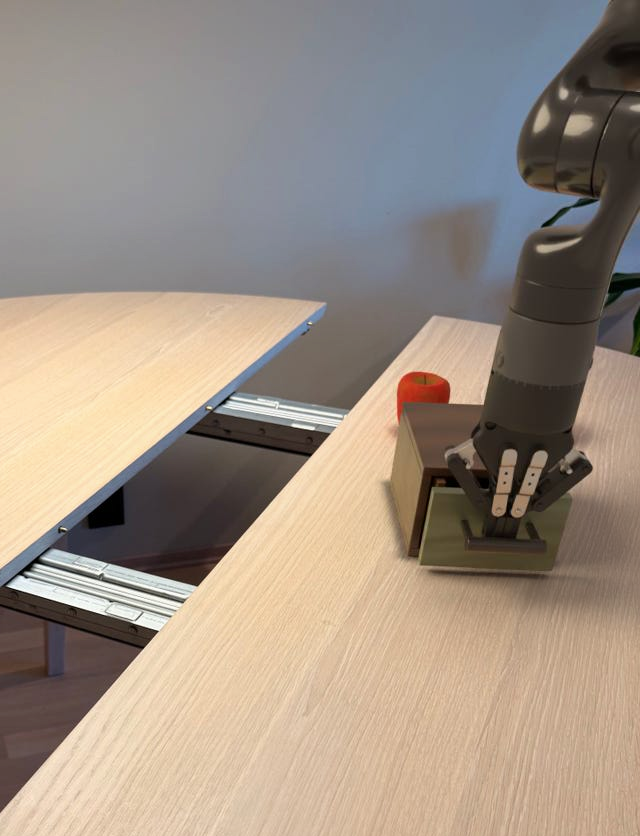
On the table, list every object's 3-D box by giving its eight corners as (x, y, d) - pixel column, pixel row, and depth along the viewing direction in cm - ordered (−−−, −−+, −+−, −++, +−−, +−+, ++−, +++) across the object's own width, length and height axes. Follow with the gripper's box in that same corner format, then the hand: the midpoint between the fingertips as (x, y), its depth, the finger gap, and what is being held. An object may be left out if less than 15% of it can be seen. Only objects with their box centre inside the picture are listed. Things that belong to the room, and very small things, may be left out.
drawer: (564, 598, 91) (587, 523, 86) (426, 592, 91) (441, 517, 87) (518, 499, 106) (535, 431, 102) (401, 495, 107) (412, 427, 102)
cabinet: (547, 562, 98) (572, 473, 92) (407, 555, 98) (423, 467, 93) (513, 488, 110) (533, 406, 105) (389, 483, 111) (402, 401, 105)
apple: (447, 429, 123) (458, 371, 119) (434, 447, 119) (446, 388, 114) (398, 419, 126) (407, 362, 121) (384, 437, 121) (393, 378, 117)
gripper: (609, 352, 83) (558, 530, 94) (451, 346, 84) (417, 523, 94) (637, 386, 77) (578, 572, 87) (466, 378, 78) (428, 564, 88)
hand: (495, 546), depth 91 cm, fingers closed
